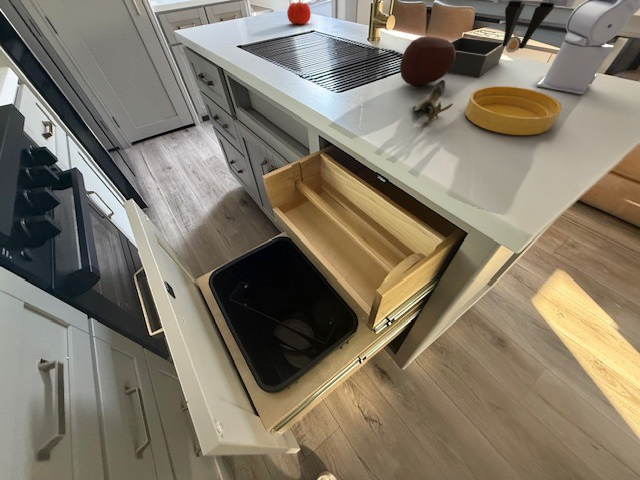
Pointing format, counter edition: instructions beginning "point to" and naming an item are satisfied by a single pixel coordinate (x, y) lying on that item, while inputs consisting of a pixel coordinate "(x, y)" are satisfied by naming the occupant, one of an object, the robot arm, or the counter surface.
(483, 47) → the bin
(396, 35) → the counter surface
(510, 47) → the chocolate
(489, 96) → the bowl
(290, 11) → the tomato
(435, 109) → the eagle figurine
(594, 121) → the counter surface
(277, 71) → the counter surface
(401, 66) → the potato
